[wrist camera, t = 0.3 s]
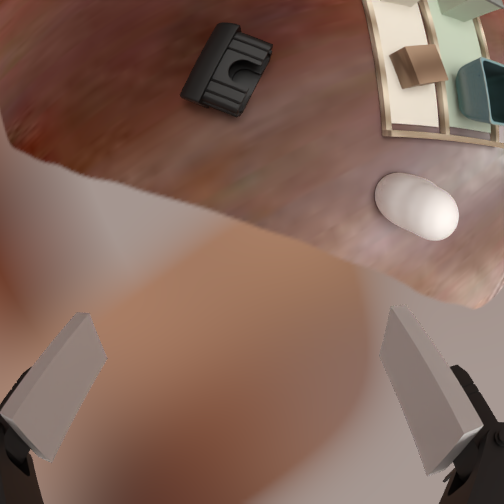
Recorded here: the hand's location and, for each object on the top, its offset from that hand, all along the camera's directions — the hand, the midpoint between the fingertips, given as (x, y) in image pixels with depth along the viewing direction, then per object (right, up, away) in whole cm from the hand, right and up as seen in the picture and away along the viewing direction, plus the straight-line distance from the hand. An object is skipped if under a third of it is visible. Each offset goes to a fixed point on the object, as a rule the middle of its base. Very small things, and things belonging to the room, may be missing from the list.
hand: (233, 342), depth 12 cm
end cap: (-2, +26, +20) cm, 32 cm away
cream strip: (+22, +31, +17) cm, 41 cm away
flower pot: (+33, +27, +18) cm, 46 cm away
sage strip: (+32, +32, +16) cm, 48 cm away
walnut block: (+22, +28, +17) cm, 40 cm away
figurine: (+21, +12, +25) cm, 34 cm away
